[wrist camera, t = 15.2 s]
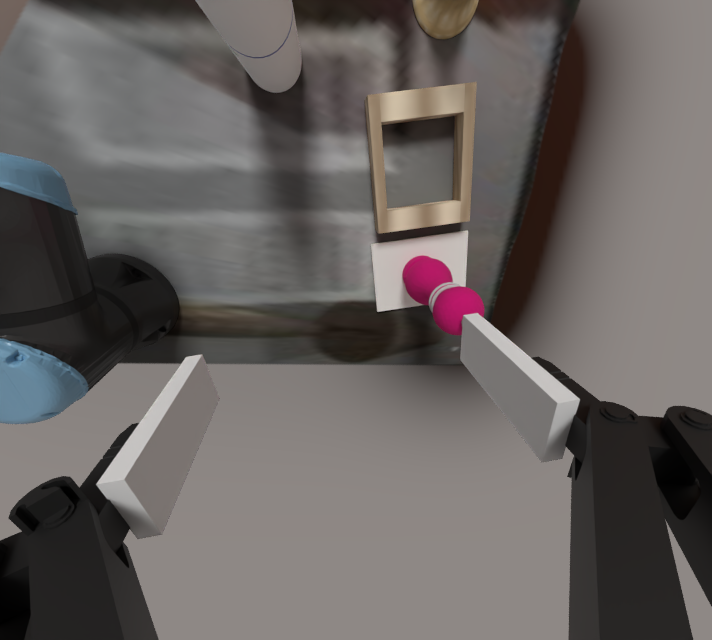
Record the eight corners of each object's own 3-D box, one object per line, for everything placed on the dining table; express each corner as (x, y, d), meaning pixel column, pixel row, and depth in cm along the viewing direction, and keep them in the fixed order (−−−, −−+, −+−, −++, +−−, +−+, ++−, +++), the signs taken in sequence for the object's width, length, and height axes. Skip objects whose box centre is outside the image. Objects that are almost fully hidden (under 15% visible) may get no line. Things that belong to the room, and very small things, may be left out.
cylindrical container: (290, 104, 39) (247, 6, 17) (235, 74, 37) (105, -81, 15) (310, 40, 37) (290, -175, 14) (252, 5, 35) (124, -308, 12)
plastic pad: (376, 310, 53) (377, 311, 53) (370, 243, 48) (371, 244, 48) (463, 297, 54) (464, 298, 54) (466, 230, 49) (468, 230, 48)
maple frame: (375, 230, 47) (378, 233, 45) (364, 100, 40) (367, 95, 37) (461, 218, 48) (469, 221, 45) (466, 88, 40) (476, 81, 38)
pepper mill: (446, 281, 52) (511, 336, 34) (408, 300, 53) (452, 363, 35) (432, 244, 49) (496, 283, 31) (392, 264, 50) (432, 314, 32)
